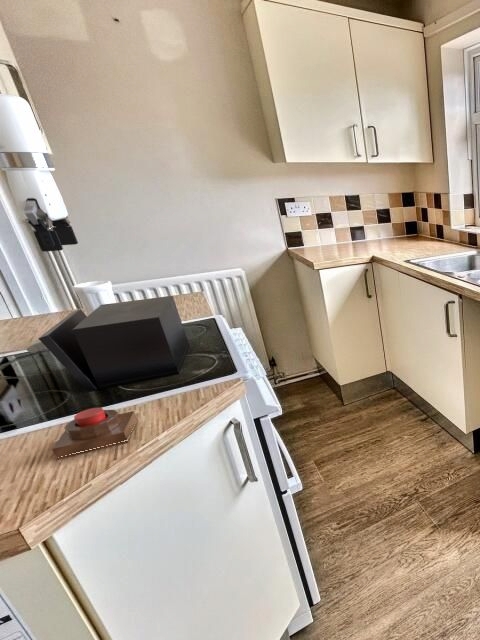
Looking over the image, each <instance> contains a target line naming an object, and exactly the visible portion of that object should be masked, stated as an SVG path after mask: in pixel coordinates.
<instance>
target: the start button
mask: <svg viewBox="0 0 480 640" xmlns="http://www.w3.org/2000/svg"><path fill="white" fill-rule="evenodd" d="M103 410H104V409H103V408H102V407H92V408H88V409H84V410H82V411H80V412H78V413H77V414H75V415H74V418H73V420H74V419H75V421H76V423H77V425H78V426H79V427H84V426H88V425H93V424H95V423H98V422H101V421H102V420H104V419H106V418H107V417H106V415H105V413H104V411H103Z"/></svg>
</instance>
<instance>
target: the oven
mask: <svg viewBox="0 0 480 640" xmlns="http://www.w3.org/2000/svg"><path fill="white" fill-rule="evenodd" d="M86 316H87V317H86V318H85V319H84V320H83V321H82V322H81V323H79V324H78V325H77V326H76V327H75V328H74V329H73V332H74V334H75V336H76V339H77V341H78V343H79V345H80V347H81V350H82V352H83V354H84V356H85V359H86V361H87V363H88V365H89V368H90V370H91V372H92V374H93V377H94V379H95V381H96V383H97V386H98V390H99V391H103V390H106V389H112V388H118V387H122V386H127V385H132V384H137V383H138V384H139V383H143V382H147V381H153V380H158V379H162V378H168V377H173V376H178V375H180V374H181V371H182V368H183V365H184V362H185V360H186V357H187V354H188V351H189V350H190V349H189V348H190V342H189V339H188V336H187V334H186V331H185V328H184V325H183V323H182V318H181V316H180V314H179V311H178V307H177V304H176V301H175V298H174V295H168V296H159V297H152V298H143V299H137V300H136V299H135V300H128V301H127V300H126V301H119V302H116V303H111V304H103V305H100V306H99V307H98V308H97V309H96V310H94V311H93V312H92V313H91V314H90V315H89V316H88V315H86Z"/></svg>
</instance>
